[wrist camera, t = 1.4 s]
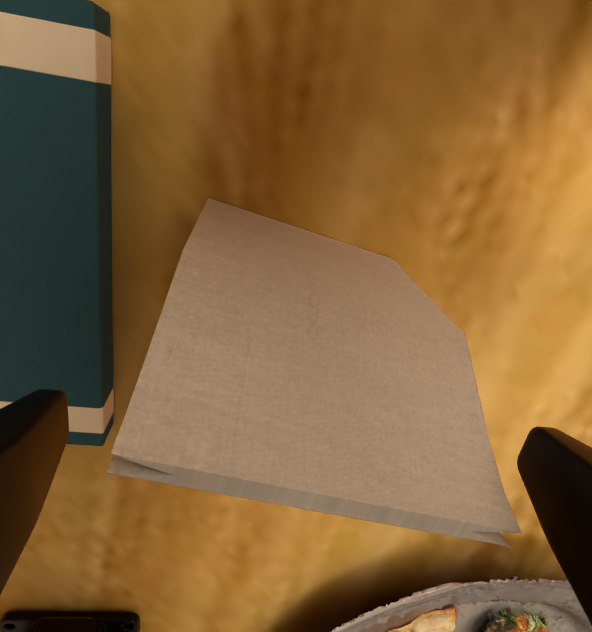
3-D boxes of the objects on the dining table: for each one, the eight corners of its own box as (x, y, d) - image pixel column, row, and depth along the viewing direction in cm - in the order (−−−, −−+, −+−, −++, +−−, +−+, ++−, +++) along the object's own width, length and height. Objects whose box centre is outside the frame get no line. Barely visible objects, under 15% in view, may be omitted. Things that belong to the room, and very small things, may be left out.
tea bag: (208, 198, 14) (135, 347, 5) (393, 258, 16) (579, 456, 7) (181, 297, 16) (88, 550, 7) (354, 345, 17) (466, 605, 8)
